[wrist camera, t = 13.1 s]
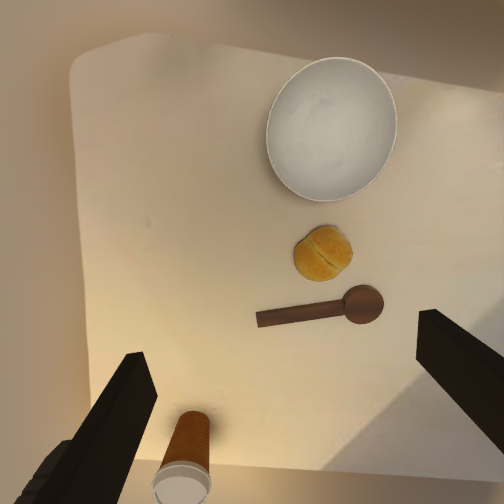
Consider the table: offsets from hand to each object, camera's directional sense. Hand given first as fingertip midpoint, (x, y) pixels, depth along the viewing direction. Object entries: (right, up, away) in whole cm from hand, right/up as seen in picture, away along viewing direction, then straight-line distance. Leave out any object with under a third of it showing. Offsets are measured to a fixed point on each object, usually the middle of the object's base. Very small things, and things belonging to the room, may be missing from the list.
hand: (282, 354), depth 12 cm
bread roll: (+10, +5, +29) cm, 31 cm away
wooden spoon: (+10, -5, +32) cm, 34 cm away
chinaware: (+7, +21, +24) cm, 32 cm away
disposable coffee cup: (-13, -30, +39) cm, 51 cm away
